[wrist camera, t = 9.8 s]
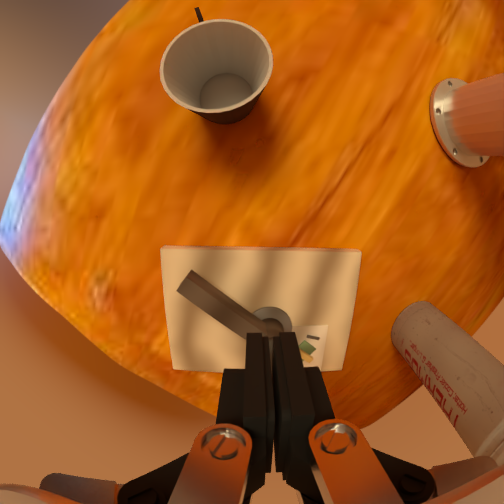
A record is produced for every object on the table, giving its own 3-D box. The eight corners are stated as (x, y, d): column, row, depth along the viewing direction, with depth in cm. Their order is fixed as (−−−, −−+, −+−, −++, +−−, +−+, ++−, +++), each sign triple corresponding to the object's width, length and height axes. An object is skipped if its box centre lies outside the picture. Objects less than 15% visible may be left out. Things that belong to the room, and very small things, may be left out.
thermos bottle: (388, 355, 35) (483, 509, 8) (393, 306, 33) (530, 463, 6) (431, 342, 35) (536, 467, 8) (439, 295, 33) (577, 413, 6)
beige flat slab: (357, 248, 31) (363, 253, 29) (338, 363, 35) (342, 372, 33) (164, 245, 31) (158, 250, 29) (175, 362, 35) (172, 371, 33)
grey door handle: (321, 347, 32) (331, 374, 27) (299, 367, 33) (306, 396, 27) (199, 258, 29) (188, 275, 24) (178, 285, 30) (165, 306, 25)
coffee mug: (259, 139, 28) (263, 120, 19) (180, 130, 28) (149, 109, 18) (275, 47, 26) (284, 0, 16) (200, 39, 25) (182, -6, 15)
